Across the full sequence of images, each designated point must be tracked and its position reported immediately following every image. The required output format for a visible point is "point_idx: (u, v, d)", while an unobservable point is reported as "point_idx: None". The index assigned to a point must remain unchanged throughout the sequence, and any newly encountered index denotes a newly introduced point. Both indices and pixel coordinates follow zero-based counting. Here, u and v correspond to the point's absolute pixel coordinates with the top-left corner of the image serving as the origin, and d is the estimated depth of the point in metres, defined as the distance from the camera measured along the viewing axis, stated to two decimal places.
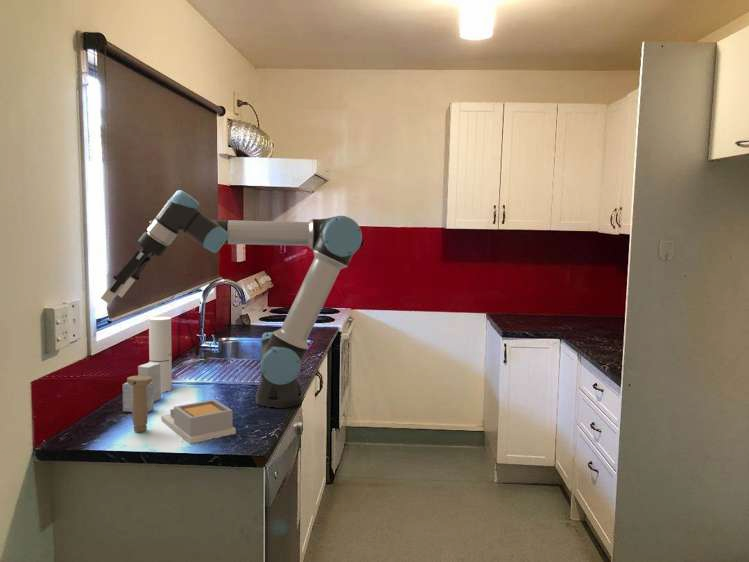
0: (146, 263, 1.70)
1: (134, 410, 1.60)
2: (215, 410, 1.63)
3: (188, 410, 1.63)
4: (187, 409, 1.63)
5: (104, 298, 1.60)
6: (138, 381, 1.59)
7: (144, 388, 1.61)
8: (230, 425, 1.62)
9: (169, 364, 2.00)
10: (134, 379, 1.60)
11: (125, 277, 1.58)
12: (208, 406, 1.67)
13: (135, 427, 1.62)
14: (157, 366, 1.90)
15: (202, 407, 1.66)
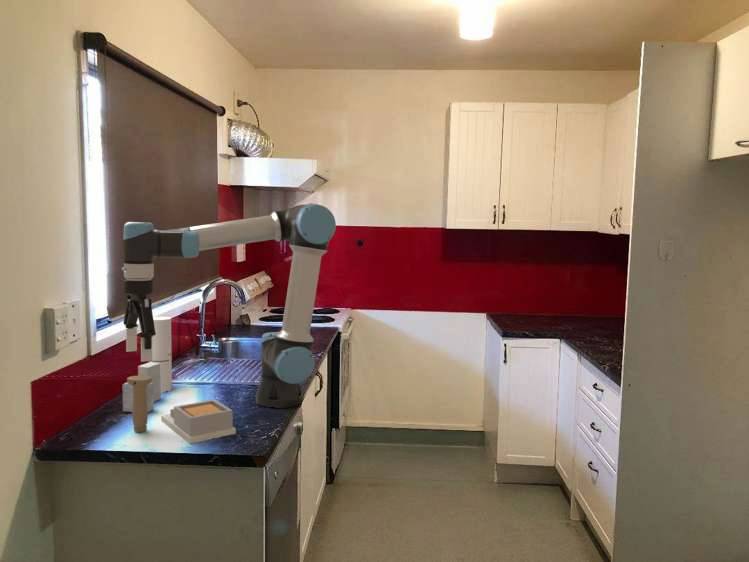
0: None
1: (134, 410, 1.60)
2: (215, 410, 1.63)
3: (188, 410, 1.63)
4: (187, 409, 1.63)
5: (145, 359, 1.55)
6: (138, 381, 1.59)
7: (144, 388, 1.61)
8: (230, 425, 1.62)
9: (169, 364, 2.00)
10: (134, 379, 1.60)
11: (153, 328, 1.53)
12: (208, 406, 1.67)
13: (135, 427, 1.62)
14: (157, 366, 1.89)
15: (202, 407, 1.66)
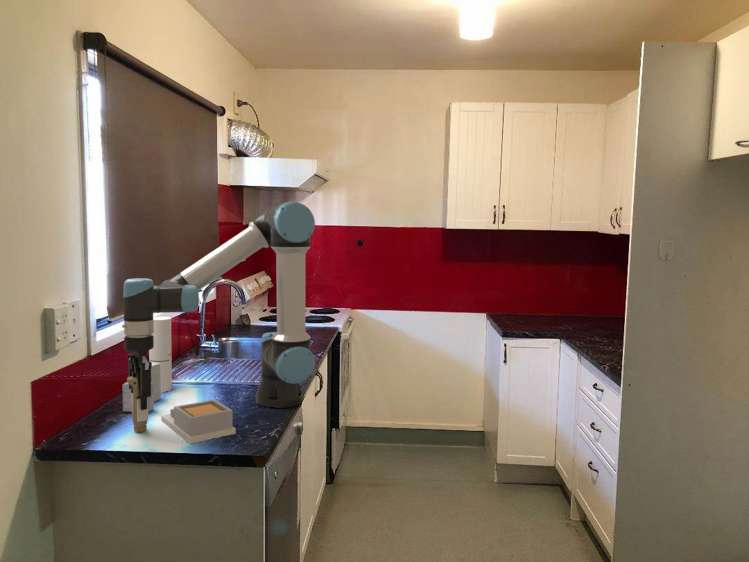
0: None
1: (134, 410, 1.60)
2: (215, 410, 1.63)
3: (188, 410, 1.63)
4: (187, 409, 1.63)
5: (141, 419, 1.60)
6: None
7: None
8: (230, 425, 1.62)
9: (169, 364, 2.00)
10: (134, 379, 1.60)
11: (149, 391, 1.58)
12: (208, 406, 1.67)
13: (135, 427, 1.62)
14: (157, 366, 1.90)
15: (202, 407, 1.66)
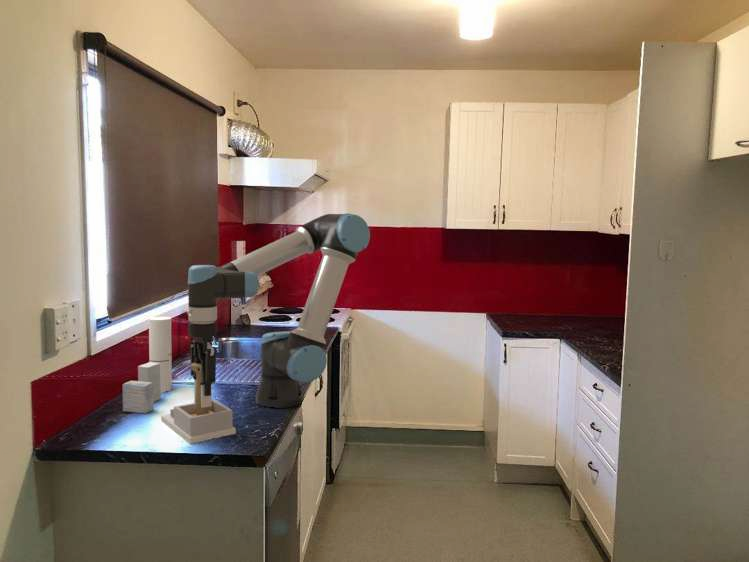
0: None
1: (198, 396, 1.61)
2: None
3: None
4: None
5: (204, 405, 1.61)
6: None
7: None
8: (230, 425, 1.62)
9: (169, 364, 2.00)
10: (198, 365, 1.60)
11: (214, 377, 1.58)
12: None
13: (198, 413, 1.62)
14: (157, 366, 1.90)
15: None
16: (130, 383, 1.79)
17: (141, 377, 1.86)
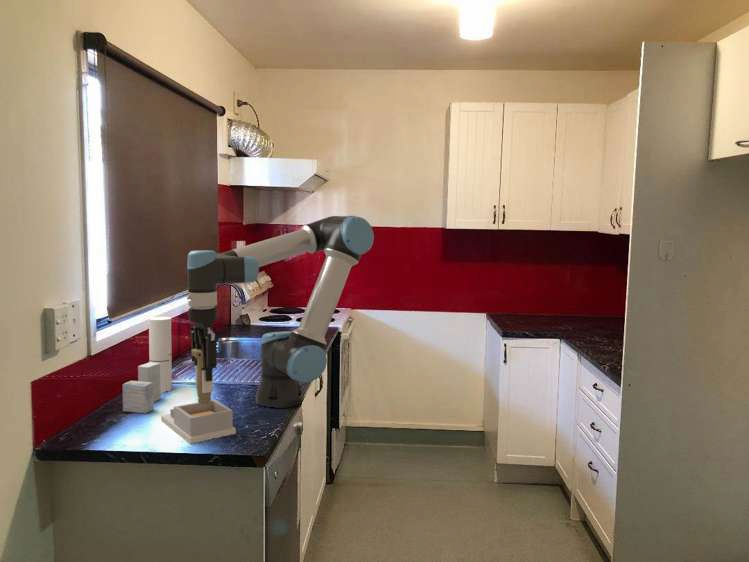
0: None
1: (199, 382, 1.61)
2: None
3: None
4: None
5: (206, 390, 1.60)
6: None
7: None
8: (230, 425, 1.62)
9: (169, 364, 2.00)
10: (198, 351, 1.60)
11: (215, 362, 1.58)
12: (208, 413, 1.67)
13: (200, 399, 1.62)
14: (157, 366, 1.89)
15: (202, 414, 1.66)
16: (130, 383, 1.79)
17: (141, 377, 1.86)
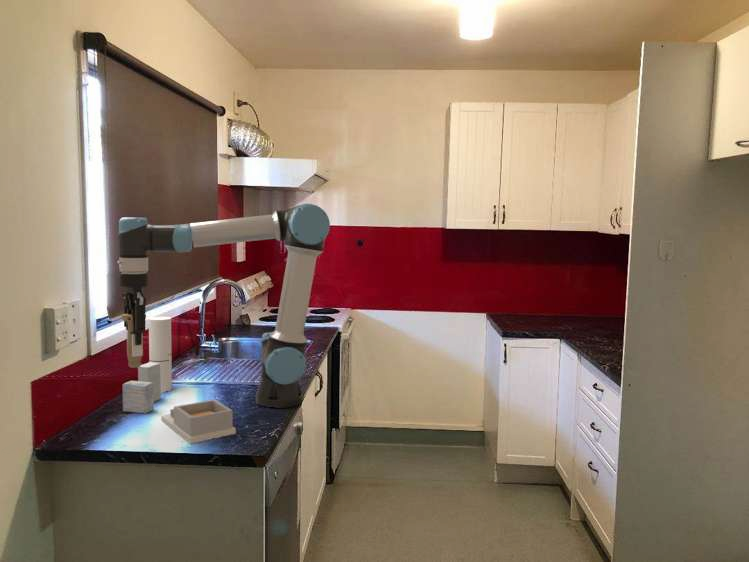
0: None
1: (129, 345, 1.65)
2: None
3: None
4: None
5: (135, 354, 1.64)
6: (132, 317, 1.63)
7: None
8: (230, 425, 1.62)
9: (169, 364, 2.00)
10: (129, 315, 1.64)
11: (143, 326, 1.62)
12: (208, 413, 1.67)
13: (130, 362, 1.66)
14: (157, 366, 1.90)
15: (202, 414, 1.66)
16: (130, 383, 1.79)
17: (141, 377, 1.86)
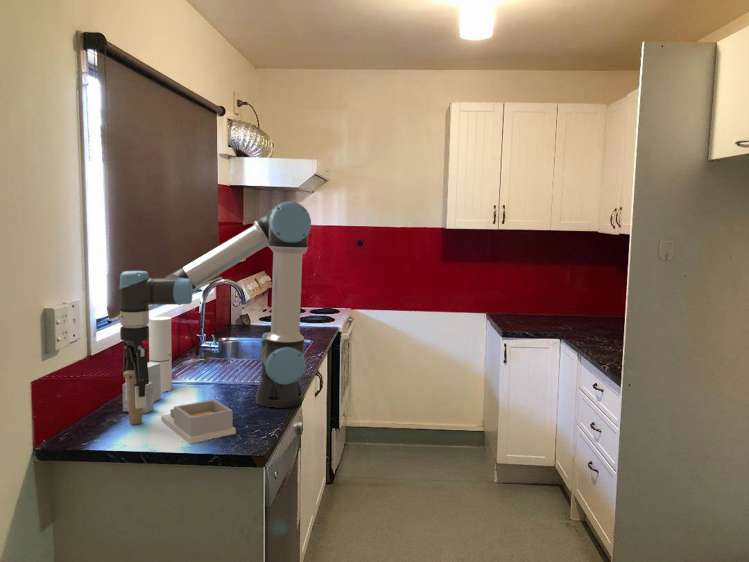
0: None
1: (130, 403, 1.66)
2: None
3: None
4: None
5: (139, 406, 1.64)
6: (134, 375, 1.65)
7: None
8: (230, 425, 1.62)
9: (169, 364, 2.00)
10: (130, 373, 1.66)
11: (147, 378, 1.62)
12: (208, 413, 1.67)
13: (131, 419, 1.68)
14: (157, 366, 1.90)
15: (202, 414, 1.66)
16: None
17: None
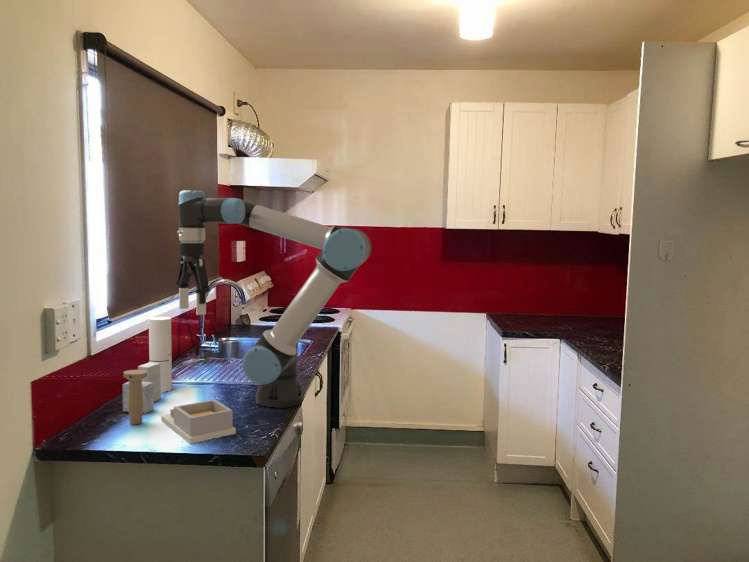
0: None
1: (130, 403, 1.66)
2: None
3: None
4: None
5: (199, 313, 1.73)
6: (134, 375, 1.65)
7: (140, 382, 1.67)
8: (230, 425, 1.62)
9: (169, 364, 2.00)
10: (130, 373, 1.66)
11: (207, 285, 1.72)
12: (208, 413, 1.67)
13: (131, 419, 1.68)
14: (157, 366, 1.90)
15: (202, 414, 1.66)
16: None
17: None
